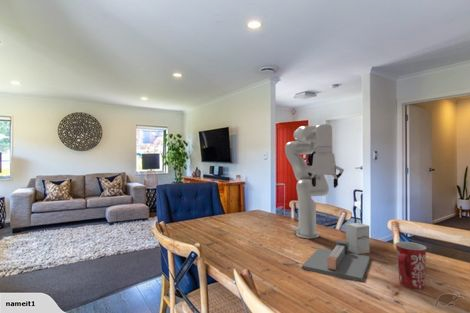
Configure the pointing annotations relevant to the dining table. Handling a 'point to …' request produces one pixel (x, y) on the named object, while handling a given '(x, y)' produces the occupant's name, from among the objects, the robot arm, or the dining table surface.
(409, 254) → the mug
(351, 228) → the supplement box
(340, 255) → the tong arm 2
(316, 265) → the mat
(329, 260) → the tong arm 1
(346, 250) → the block
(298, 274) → the dining table surface
